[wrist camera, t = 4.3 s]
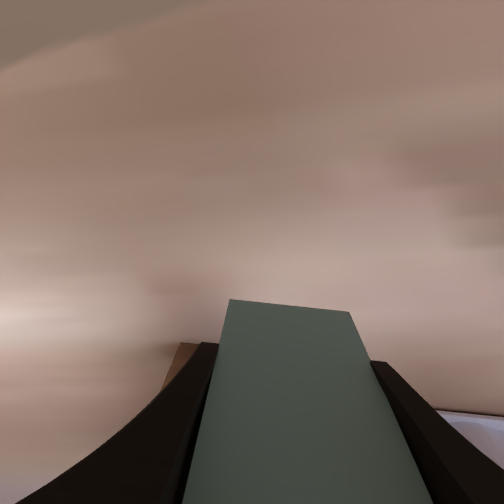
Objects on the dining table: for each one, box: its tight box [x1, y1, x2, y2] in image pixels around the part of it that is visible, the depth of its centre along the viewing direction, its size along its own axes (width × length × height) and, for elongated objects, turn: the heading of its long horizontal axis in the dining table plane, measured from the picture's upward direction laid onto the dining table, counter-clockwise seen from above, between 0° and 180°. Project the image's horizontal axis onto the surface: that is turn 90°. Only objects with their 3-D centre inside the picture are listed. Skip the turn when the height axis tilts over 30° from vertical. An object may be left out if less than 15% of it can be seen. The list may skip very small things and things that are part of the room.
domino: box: [182, 299, 433, 504], centre depth 9 cm, size 5×2×10 cm, turn 85°
